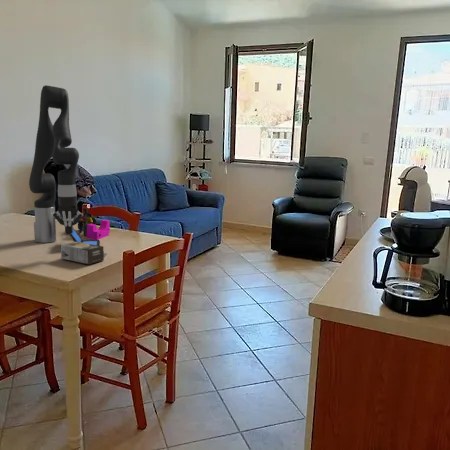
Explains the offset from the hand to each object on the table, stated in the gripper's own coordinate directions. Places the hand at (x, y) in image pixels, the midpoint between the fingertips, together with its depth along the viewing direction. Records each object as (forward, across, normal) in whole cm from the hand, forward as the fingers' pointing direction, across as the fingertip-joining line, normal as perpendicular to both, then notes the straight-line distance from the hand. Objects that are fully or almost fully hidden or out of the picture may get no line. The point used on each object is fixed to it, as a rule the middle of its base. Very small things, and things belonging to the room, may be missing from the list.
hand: (69, 234), depth 191 cm
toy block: (+10, +3, +39) cm, 41 cm away
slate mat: (+10, +9, 0) cm, 13 cm away
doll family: (+10, -6, +44) cm, 46 cm away
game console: (+11, +1, +19) cm, 22 cm away
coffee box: (+7, 0, -2) cm, 7 cm away
